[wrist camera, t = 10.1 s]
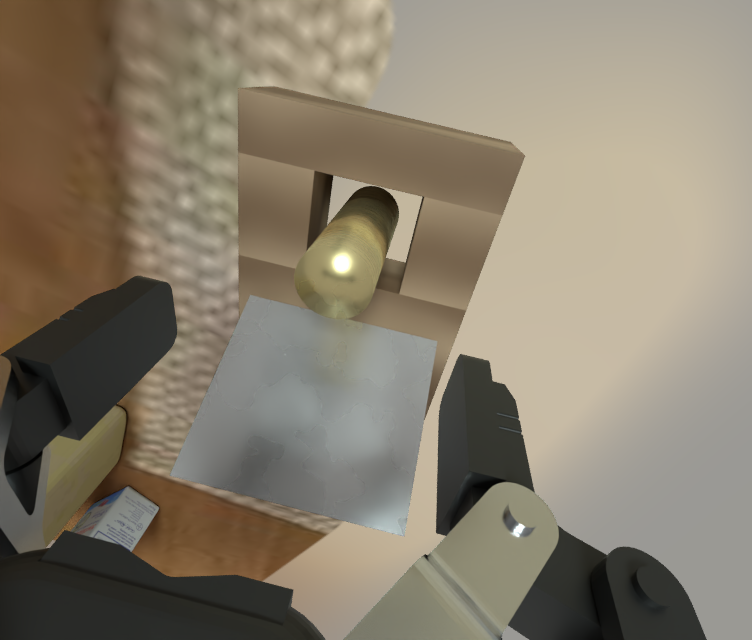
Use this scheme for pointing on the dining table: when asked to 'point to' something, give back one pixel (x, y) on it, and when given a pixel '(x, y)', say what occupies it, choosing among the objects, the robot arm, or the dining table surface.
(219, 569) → the dining table surface
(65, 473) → the cheese
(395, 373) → the steel flap
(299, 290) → the brass peg
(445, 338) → the walnut block
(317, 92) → the dining table surface
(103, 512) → the medicine box
